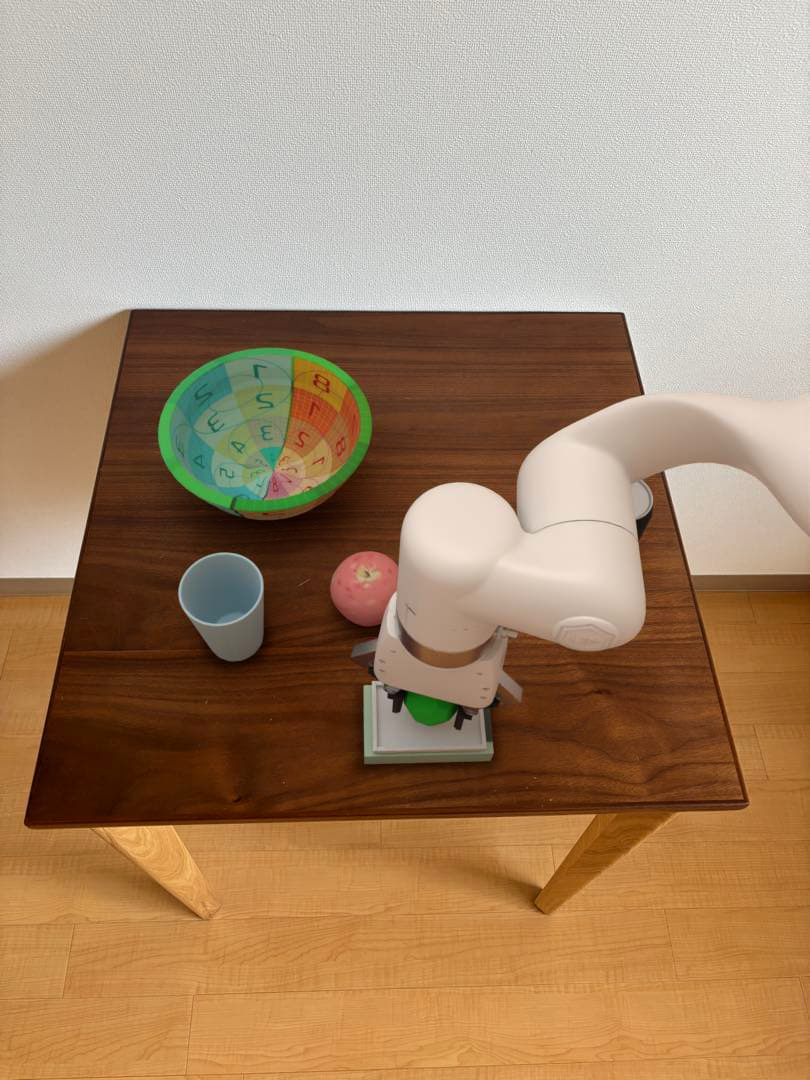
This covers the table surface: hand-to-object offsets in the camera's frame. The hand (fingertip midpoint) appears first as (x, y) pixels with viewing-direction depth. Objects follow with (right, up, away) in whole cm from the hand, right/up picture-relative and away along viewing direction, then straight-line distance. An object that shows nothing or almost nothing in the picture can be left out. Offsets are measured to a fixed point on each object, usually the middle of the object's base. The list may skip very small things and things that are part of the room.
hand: (430, 705), depth 74 cm
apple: (-6, +8, +12) cm, 15 cm away
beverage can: (+19, +13, +16) cm, 28 cm away
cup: (-20, +5, +9) cm, 22 cm away
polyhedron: (0, 0, +1) cm, 1 cm away
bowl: (-17, +22, +20) cm, 34 cm away
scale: (0, -3, +5) cm, 6 cm away
